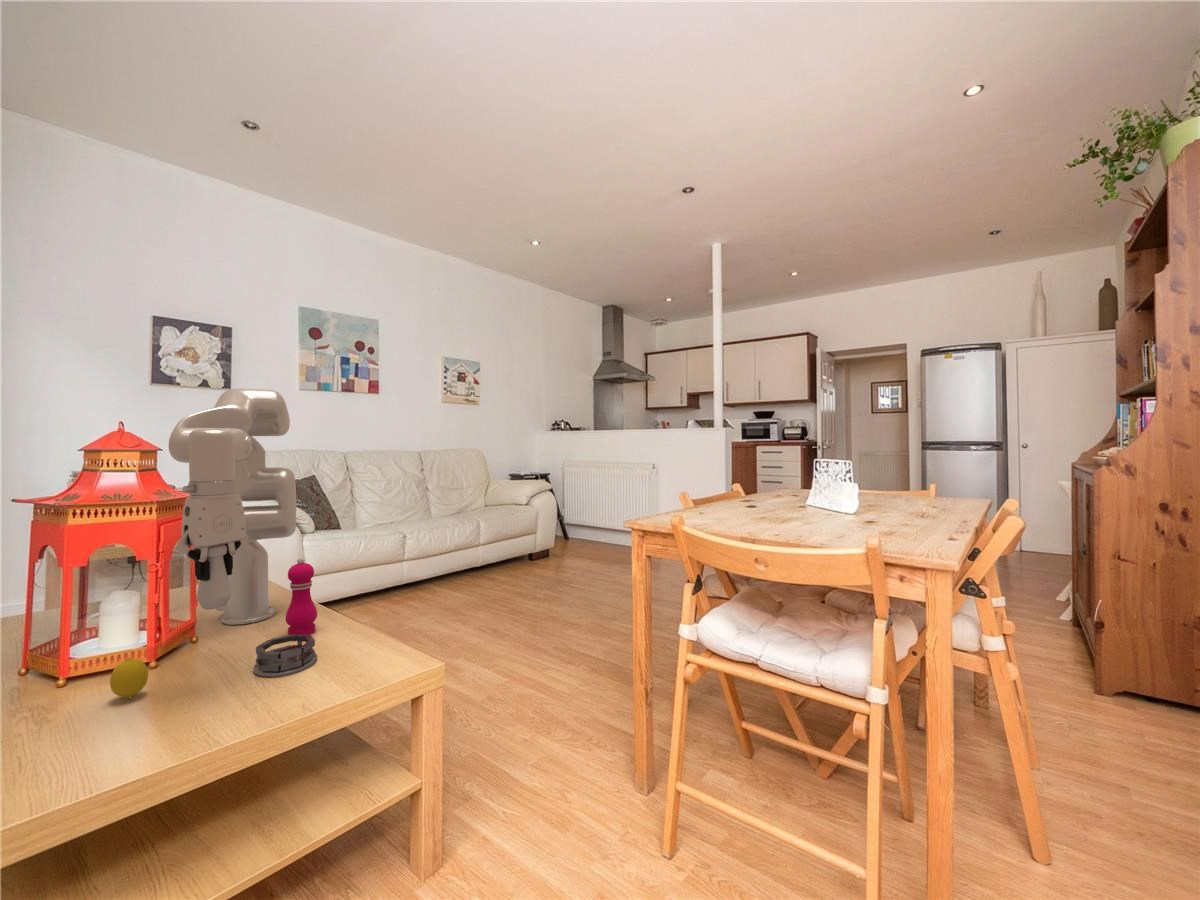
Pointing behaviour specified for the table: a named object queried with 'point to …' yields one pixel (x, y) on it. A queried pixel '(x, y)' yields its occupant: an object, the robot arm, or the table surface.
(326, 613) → the table surface
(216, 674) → the table surface
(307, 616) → the pepper mill
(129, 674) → the lemon
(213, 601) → the salt shaker
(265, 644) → the collar stand
